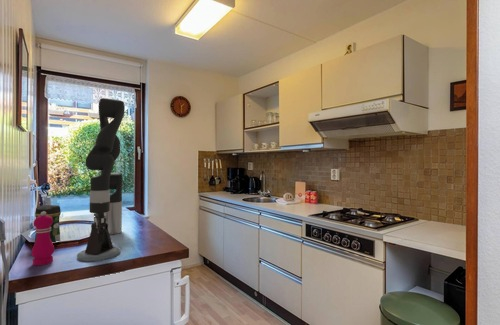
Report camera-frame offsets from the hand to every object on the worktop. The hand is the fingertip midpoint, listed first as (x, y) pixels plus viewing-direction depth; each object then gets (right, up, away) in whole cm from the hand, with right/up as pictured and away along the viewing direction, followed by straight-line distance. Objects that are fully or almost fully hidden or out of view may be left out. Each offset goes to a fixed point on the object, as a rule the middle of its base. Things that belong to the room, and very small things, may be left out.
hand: (99, 239), depth 116 cm
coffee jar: (-32, -6, +14) cm, 36 cm away
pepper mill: (-17, -6, -9) cm, 20 cm away
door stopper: (0, -5, 0) cm, 5 cm away
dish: (0, -6, 0) cm, 6 cm away
